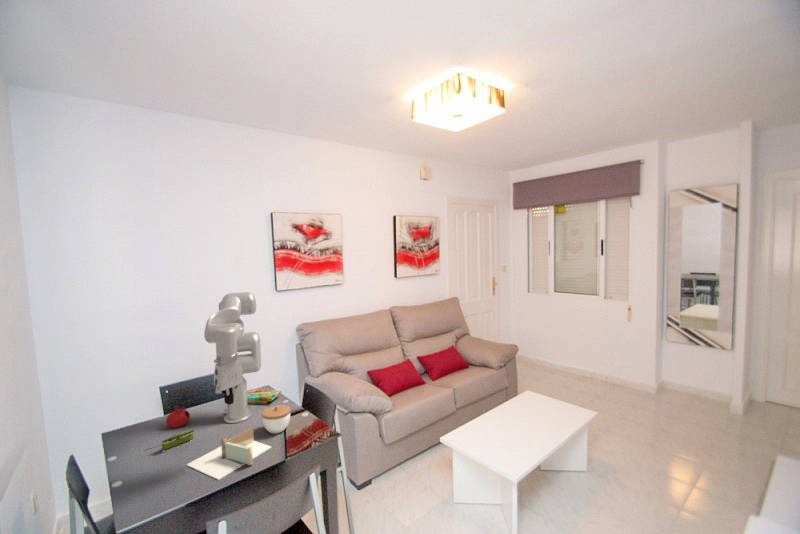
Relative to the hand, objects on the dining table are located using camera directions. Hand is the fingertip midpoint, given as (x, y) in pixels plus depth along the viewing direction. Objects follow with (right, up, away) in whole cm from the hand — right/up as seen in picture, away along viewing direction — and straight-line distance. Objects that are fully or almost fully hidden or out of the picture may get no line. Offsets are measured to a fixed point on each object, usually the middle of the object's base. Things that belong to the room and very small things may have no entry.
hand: (229, 403), depth 141 cm
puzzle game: (-11, -21, +58) cm, 62 cm away
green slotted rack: (-31, -23, +9) cm, 40 cm away
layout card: (0, -22, +2) cm, 22 cm away
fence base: (+1, -22, +6) cm, 23 cm away
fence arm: (+5, -22, -3) cm, 22 cm away
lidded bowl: (+11, -22, +23) cm, 33 cm away
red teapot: (-40, -23, +30) cm, 55 cm away
